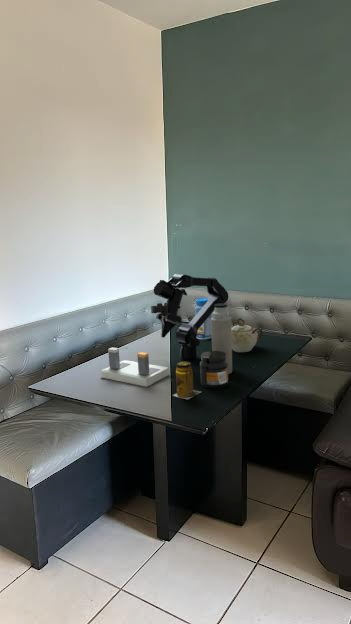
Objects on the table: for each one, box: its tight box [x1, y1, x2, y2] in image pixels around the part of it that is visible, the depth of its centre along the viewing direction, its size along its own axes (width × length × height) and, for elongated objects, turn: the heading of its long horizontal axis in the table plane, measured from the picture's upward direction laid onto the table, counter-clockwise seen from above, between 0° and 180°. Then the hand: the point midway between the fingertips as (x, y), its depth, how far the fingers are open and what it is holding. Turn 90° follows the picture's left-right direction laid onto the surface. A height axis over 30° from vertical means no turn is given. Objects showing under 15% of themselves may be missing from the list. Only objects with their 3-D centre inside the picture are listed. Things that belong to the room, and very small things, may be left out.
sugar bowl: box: [231, 318, 263, 353], centre depth 228 cm, size 20×15×15 cm
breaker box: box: [100, 359, 170, 387], centre depth 201 cm, size 15×23×3 cm, turn 56°
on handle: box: [107, 347, 121, 369], centre depth 201 cm, size 2×4×8 cm, turn 56°
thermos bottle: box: [211, 303, 233, 375], centre depth 199 cm, size 8×8×28 cm
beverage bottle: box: [194, 297, 213, 340], centre depth 251 cm, size 8×8×20 cm
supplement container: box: [199, 350, 229, 390], centre depth 187 cm, size 10×10×12 cm
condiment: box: [172, 360, 202, 400], centre depth 179 cm, size 7×8×12 cm
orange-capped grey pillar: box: [136, 351, 150, 375], centre depth 193 cm, size 2×4×8 cm, turn 56°
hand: (162, 337), depth 209 cm, fingers closed
